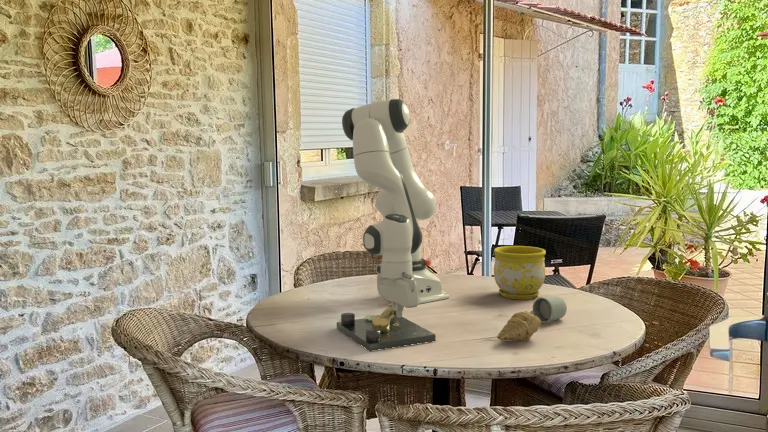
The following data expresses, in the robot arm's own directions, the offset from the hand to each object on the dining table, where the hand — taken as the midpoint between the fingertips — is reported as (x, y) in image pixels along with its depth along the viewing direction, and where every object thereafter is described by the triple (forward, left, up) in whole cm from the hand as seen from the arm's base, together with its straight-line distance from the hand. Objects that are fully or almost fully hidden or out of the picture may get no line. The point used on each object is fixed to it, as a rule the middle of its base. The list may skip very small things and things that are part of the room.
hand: (397, 316), depth 200 cm
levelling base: (+6, +4, -4) cm, 8 cm away
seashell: (-24, +26, -4) cm, 35 cm away
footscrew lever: (+4, 0, -1) cm, 4 cm away
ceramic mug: (-46, +11, -4) cm, 47 cm away
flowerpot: (-57, -18, -4) cm, 60 cm away
